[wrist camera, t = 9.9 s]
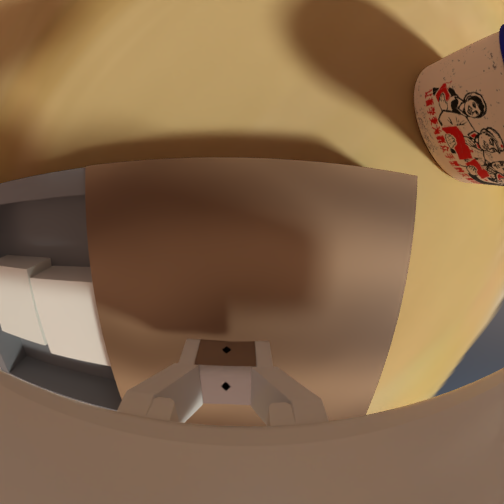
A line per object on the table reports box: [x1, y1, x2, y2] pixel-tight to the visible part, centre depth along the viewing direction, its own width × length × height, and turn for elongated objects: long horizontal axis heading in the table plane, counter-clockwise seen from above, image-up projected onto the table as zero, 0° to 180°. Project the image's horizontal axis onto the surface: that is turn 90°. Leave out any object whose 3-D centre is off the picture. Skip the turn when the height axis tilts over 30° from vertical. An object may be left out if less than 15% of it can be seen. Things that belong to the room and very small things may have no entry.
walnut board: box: [85, 157, 417, 426], centre depth 13 cm, size 15×14×4 cm
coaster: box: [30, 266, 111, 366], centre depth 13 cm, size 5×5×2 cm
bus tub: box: [0, 167, 122, 411], centre depth 13 cm, size 15×13×4 cm
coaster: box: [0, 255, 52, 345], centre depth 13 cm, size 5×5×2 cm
